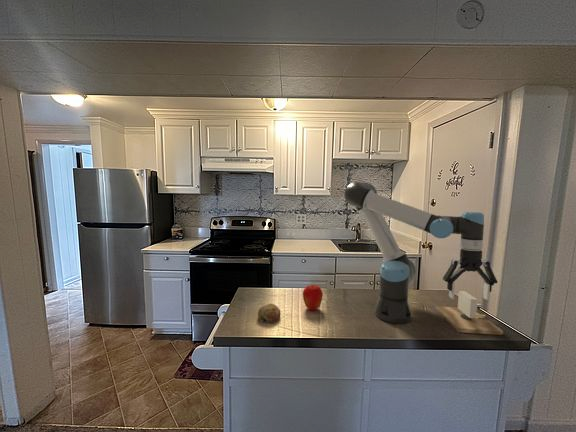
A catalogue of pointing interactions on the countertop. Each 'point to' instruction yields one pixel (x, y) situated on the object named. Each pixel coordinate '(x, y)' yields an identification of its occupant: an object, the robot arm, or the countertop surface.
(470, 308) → the cream piece
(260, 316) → the bread roll
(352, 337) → the countertop surface
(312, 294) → the apple
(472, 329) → the light wood flat board
